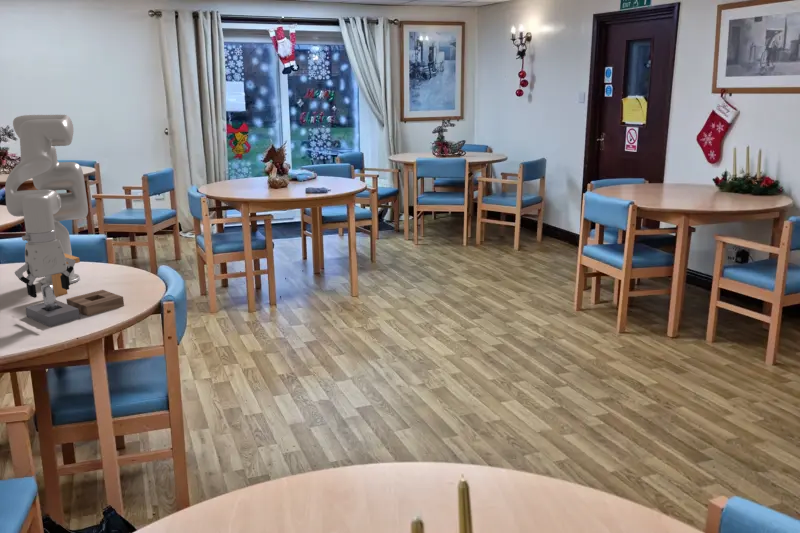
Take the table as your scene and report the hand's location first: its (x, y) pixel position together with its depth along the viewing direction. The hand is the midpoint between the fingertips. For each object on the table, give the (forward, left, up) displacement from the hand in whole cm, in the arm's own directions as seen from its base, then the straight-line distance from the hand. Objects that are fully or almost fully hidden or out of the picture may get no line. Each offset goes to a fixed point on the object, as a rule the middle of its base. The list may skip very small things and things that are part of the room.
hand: (49, 292), depth 203 cm
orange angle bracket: (-16, +13, -9) cm, 22 cm away
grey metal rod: (0, 0, -8) cm, 8 cm away
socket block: (+1, +13, -9) cm, 16 cm away
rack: (0, 0, -9) cm, 9 cm away
